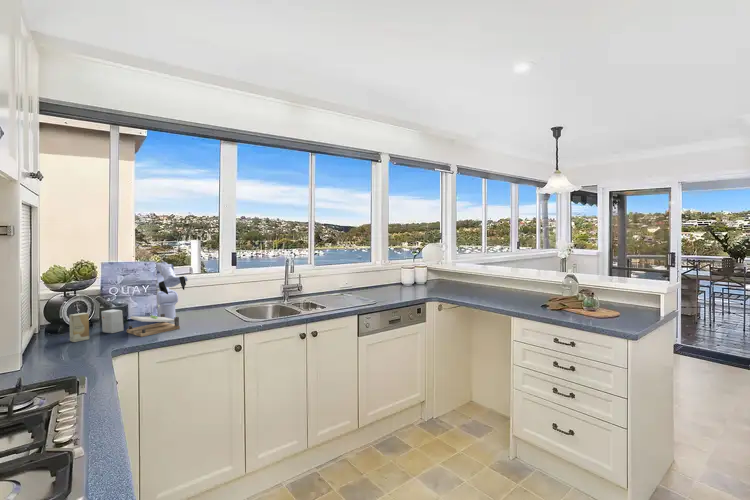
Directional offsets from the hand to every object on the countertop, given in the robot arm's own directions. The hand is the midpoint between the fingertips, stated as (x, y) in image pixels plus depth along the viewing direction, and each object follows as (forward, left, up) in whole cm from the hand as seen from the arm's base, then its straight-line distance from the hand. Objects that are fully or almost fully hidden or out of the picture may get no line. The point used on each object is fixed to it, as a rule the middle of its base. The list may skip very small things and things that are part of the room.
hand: (175, 290), depth 193 cm
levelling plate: (-5, -9, -14) cm, 18 cm away
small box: (-21, -21, -20) cm, 36 cm away
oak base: (-5, -9, -19) cm, 22 cm away
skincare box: (-16, -36, -20) cm, 44 cm away
